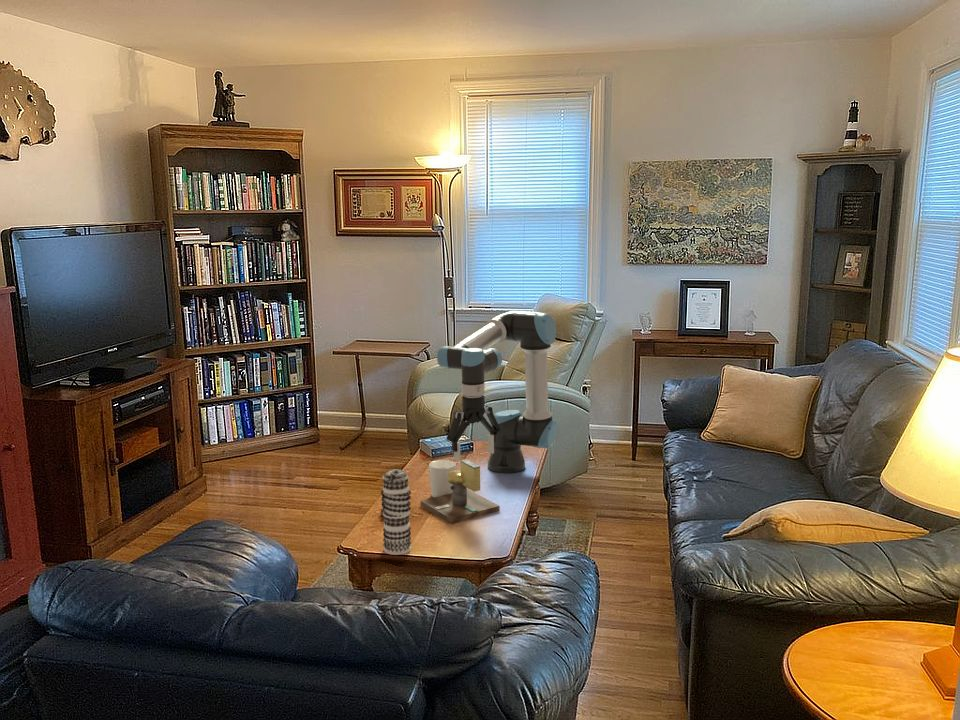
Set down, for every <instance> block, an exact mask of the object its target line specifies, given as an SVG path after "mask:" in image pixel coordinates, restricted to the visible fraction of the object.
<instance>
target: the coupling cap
mask: <svg viewBox="0 0 960 720" xmlns="http://www.w3.org/2000/svg"><path fill="white" fill-rule="evenodd" d="M448 482H449V483H451V484H456V485H464V486H465V487H467V489H468V490H470V491H472V492H474V493H476V492H479V491H481V466H480V465H478V464H476V463H474V462H473V461H471V460H469V459H462V460H461V459H460V469H456V470H455V471H451V472H449V473H448Z"/></svg>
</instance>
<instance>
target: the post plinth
mask: <svg viewBox="0 0 960 720" xmlns="http://www.w3.org/2000/svg"><path fill="white" fill-rule="evenodd" d="M450 488H451V490H452V493H451V494H446V495H442V496H438V497H434V498H433V497H431V498H427V499H422V500H420V507H421V508H424V509H425V510H426V511H428V512H430V513H431V514H433V515H435V516H437V517H438V518H440V519H441V520H444V521H445V522H446V523H448V524H450V525H453V524H457V523H461V522H464V521H468V520H473V519H476V518H479V517H483V516H487V515H491V514H494V513H498V512H500V510H501V509H500V508H501V507H500V505H499V504H498V503H495V502H493V501H492V500H489V499H487V498H485V497H483V496H482V495H480V494H478V493H476V492H474V491H472V490H470V489H469V488H467V487H465V486H464V485H456V484H452V486H451V487H450Z"/></svg>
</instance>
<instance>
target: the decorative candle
mask: <svg viewBox="0 0 960 720" xmlns="http://www.w3.org/2000/svg"><path fill="white" fill-rule="evenodd" d="M409 477H410V475H409V474H408V473H406V472H405V470H403V469H397V468H396V469H395V468H394V469H389V470H387V471H386V472H385V473H384V474H383V475H381V478H382V479H383V480H382V481H383V482H382V483H383V485H382V489H381V491H380V495H381V506H382V507H381V509H383V510H382V512H383V516H382V517H383V518H384V522H383V529H382V531H383V534H382V536H383V539H382V541H383V544H382V545H383V552H385V554H388V555H393V556H394V555H395V556H397V555H399V556H400V555H405V554H407V553H409V552H410V551H411V550H412V547H411V544H412V542H411V540H412V537H411V533H412V532H411V525H410V516H409V515H410V514H411V507H410V506H411V504H412V503H411V501H409V500H411V498H412V496H411V494H412V491H411V490H410V487H409Z"/></svg>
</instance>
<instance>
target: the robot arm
mask: <svg viewBox="0 0 960 720" xmlns="http://www.w3.org/2000/svg"><path fill="white" fill-rule="evenodd" d="M556 335H557V325H556V322H555V320H554V317H553V316H552V315H551V314H549V313H547V312H540V311H525V310H524V311H523V310H522V311H520V310H511V311H507V312H503V313H500V314H498V315H495V316H494V317H491V318H490V319H489V320H487V321H486V322H485V324H484V326H483V327H481V328H480V329H478V330H476V331H474V332H473V333H471V334H470V335H468V336H467V337H465V338H464V339H462V340H461V341H458V342H457V343H456V344H455V345H453V346H449V345H444V346H441V347H440V348H439V349H438V350H437V354H436V361H437V364H438V366H439V367H441V368H444V369H445V368H446V369H451V370H452V369H455V370H461V395H462V397H461V406H462V411H459V412H458V411H455V412H454V413H453V414H454V415H453V420H452V422H451V425H450V428H449V430H448V433H447V435H446V440H447V441H448V442H451V450H452V452H453V460H455V461H456V462H461V442H460V441H459V440H460V439H461V437H462V436H463V434H464V433H465V431H466V429H467V428H468V427H469V426H470V425H471V424H475V423H479V422H480V423H481V424H482V426H484V427H485V429H486V430H487V431H488V432H489V433H487V436H486V439H487V452H488V454H489V458H488V461H487V468H488V469H489V470H490V471H493V472H496V473H504V474H509V473H510V474H512V473H518V472H521V471H524V470H525V468H526V460H525V456H524V454H523V451H522V446H526V447H532V448H538V449H549V448H551V447H552V446H553V444H554V443H555V441H556V440H557V435H558V432H559V423H558V420H557V419H554V418H553V412H552V411H550V409H549V389H548V388H549V386H548V385H549V383H548V351H549V350H550V348H551V347H552V346H551V345H552V344H554V343H555V341H556ZM504 341H505V342H506V341H509V342H510V341H511V342H520V346H519V347H520V349H521V351H523V352H524V375H525V379H524V380H525V383H524V384H525V407H526V408H525V411H524V412H523V413H522V412H521V410H519V409H508V410H507V409H506V410H501V411H497V412H495V413H494V411H493V407H492V406H489V405H486V398H485V396H484V395H485V375H486V374H488V373H491V372H493V371H496V370H497V369H498V368H500V367H501V365H502V363H503V356H502V354H501V352H500V350H499V349H497V348H494V347H492V346H493V345H494V344H500V343H503V342H504ZM485 414H486V417H487V418H488V420H489V422H488V421H487V418H486V417H485V416H484V415H485Z"/></svg>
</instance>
